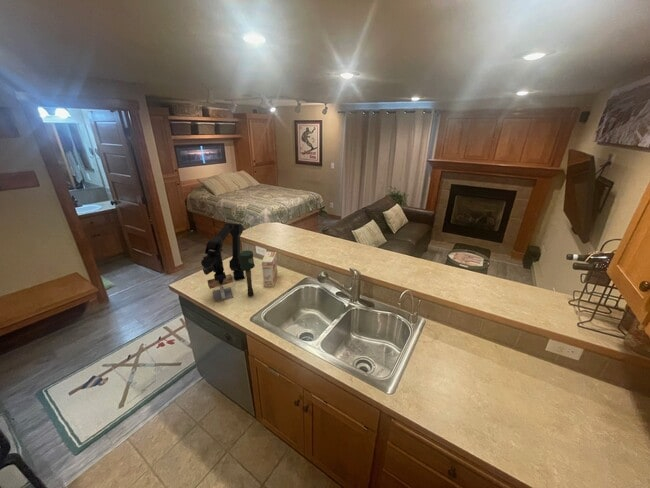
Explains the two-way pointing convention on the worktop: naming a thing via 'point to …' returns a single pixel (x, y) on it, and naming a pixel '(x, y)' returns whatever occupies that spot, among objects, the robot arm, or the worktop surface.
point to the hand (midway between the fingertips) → (220, 282)
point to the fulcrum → (222, 294)
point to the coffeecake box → (269, 269)
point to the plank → (213, 283)
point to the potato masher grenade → (247, 268)
